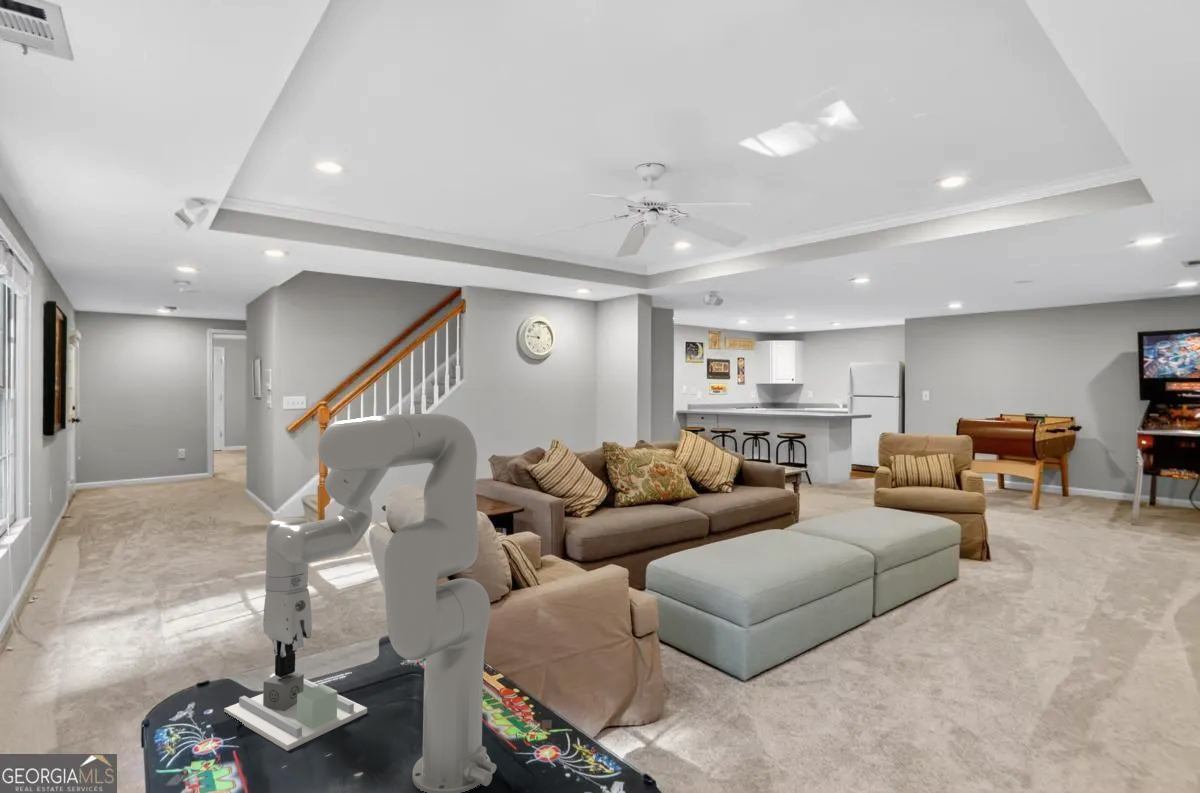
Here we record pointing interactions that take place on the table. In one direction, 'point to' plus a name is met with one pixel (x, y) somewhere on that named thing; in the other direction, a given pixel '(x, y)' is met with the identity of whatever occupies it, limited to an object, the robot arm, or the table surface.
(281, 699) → the dice cube
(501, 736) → the table surface
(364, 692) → the table surface
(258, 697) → the rail board
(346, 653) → the table surface
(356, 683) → the table surface
